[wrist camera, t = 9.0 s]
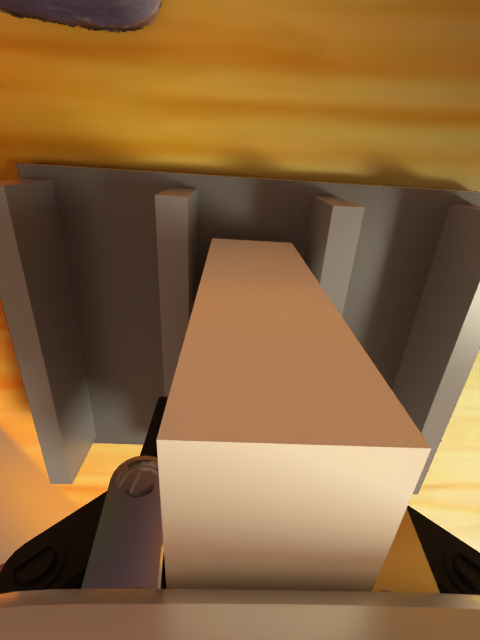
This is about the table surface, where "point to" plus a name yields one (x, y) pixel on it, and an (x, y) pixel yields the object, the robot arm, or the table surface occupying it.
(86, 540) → the robot arm
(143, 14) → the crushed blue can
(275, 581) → the beige square block
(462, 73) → the table surface
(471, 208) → the rack
